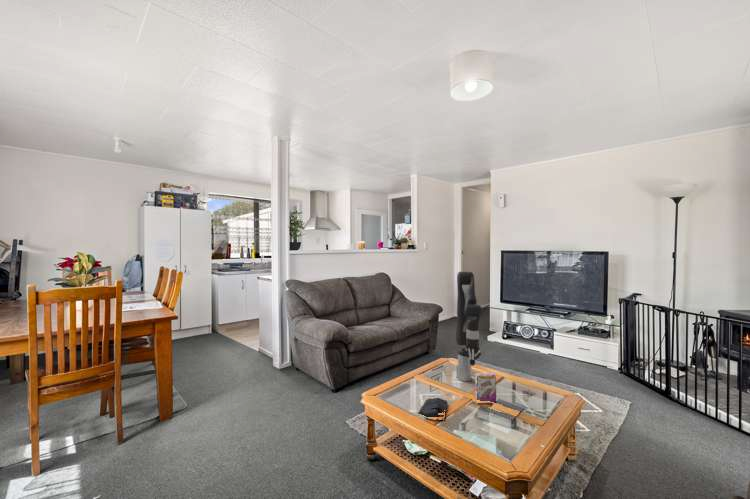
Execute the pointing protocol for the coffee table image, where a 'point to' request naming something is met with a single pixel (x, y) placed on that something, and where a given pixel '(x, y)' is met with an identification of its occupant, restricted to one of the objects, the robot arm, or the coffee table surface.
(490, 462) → the coffee table surface
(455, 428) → the coffee table surface
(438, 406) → the dark slate chunk
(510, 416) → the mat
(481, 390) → the candy bar box
